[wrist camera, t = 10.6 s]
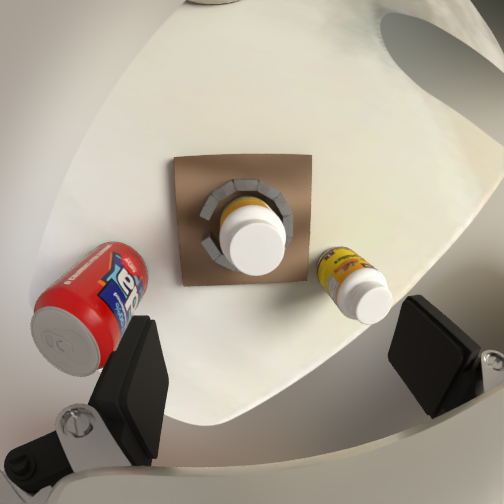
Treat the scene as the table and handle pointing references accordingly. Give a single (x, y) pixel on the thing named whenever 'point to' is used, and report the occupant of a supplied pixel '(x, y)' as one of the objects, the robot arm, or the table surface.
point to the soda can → (89, 309)
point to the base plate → (218, 173)
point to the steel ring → (243, 185)
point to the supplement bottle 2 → (354, 285)
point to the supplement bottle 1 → (251, 236)
